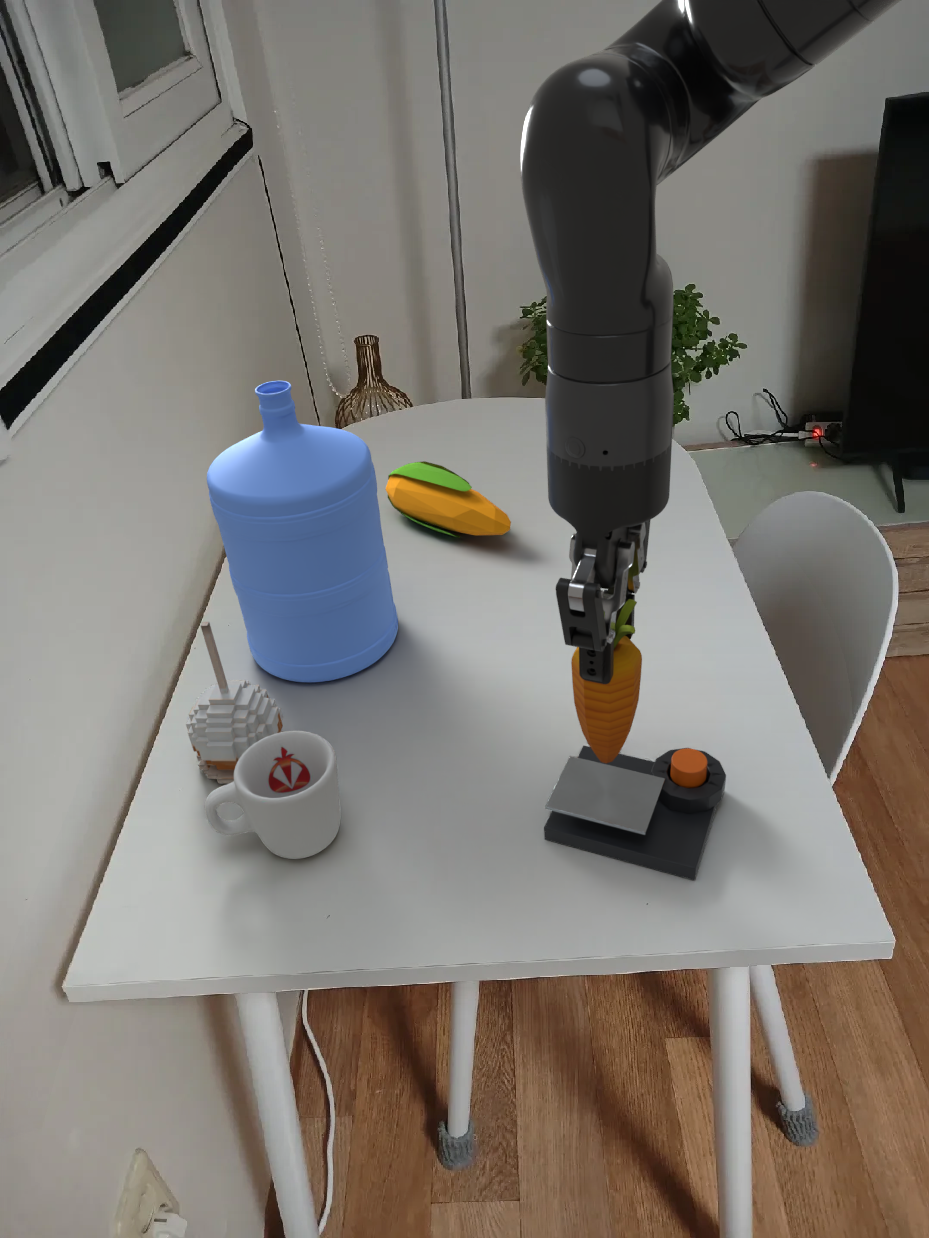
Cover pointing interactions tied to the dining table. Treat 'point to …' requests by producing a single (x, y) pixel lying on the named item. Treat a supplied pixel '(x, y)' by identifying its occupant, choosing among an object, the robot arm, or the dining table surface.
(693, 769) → the button
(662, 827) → the scale
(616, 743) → the carrot
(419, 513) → the corn
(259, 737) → the caramel apple
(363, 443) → the water jug
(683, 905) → the dining table surface
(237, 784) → the cup
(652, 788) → the plate
